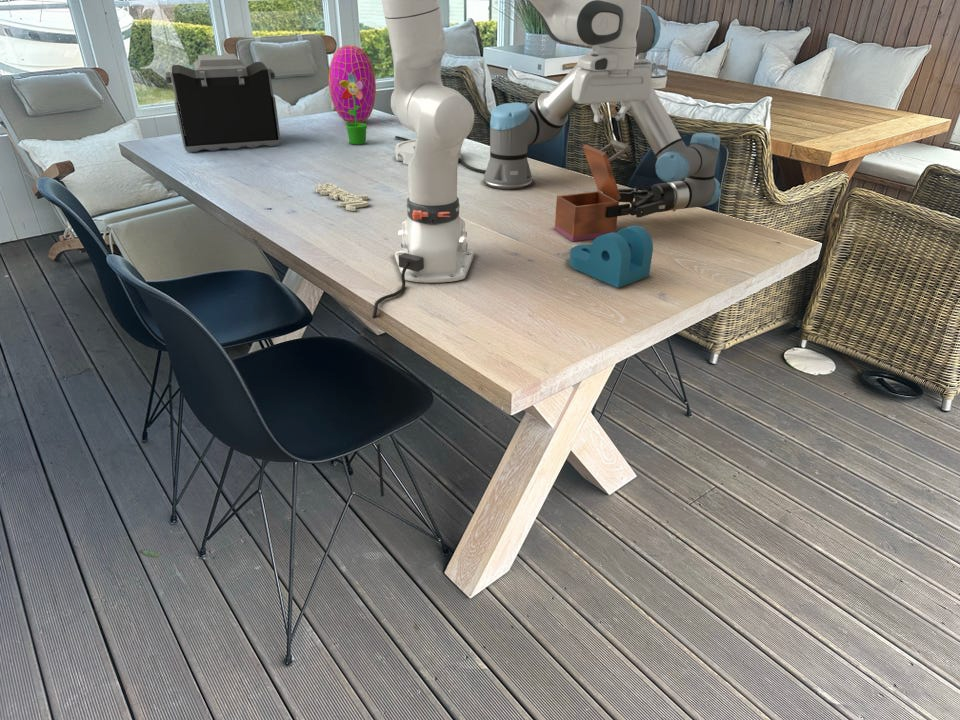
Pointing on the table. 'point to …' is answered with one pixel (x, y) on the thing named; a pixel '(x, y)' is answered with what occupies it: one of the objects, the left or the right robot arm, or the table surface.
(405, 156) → the ashtray
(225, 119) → the electronic device
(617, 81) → the left robot arm
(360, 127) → the potted flower
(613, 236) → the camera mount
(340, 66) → the decorative egg
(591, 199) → the chest
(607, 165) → the lid
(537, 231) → the table surface
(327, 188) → the decorative sign
